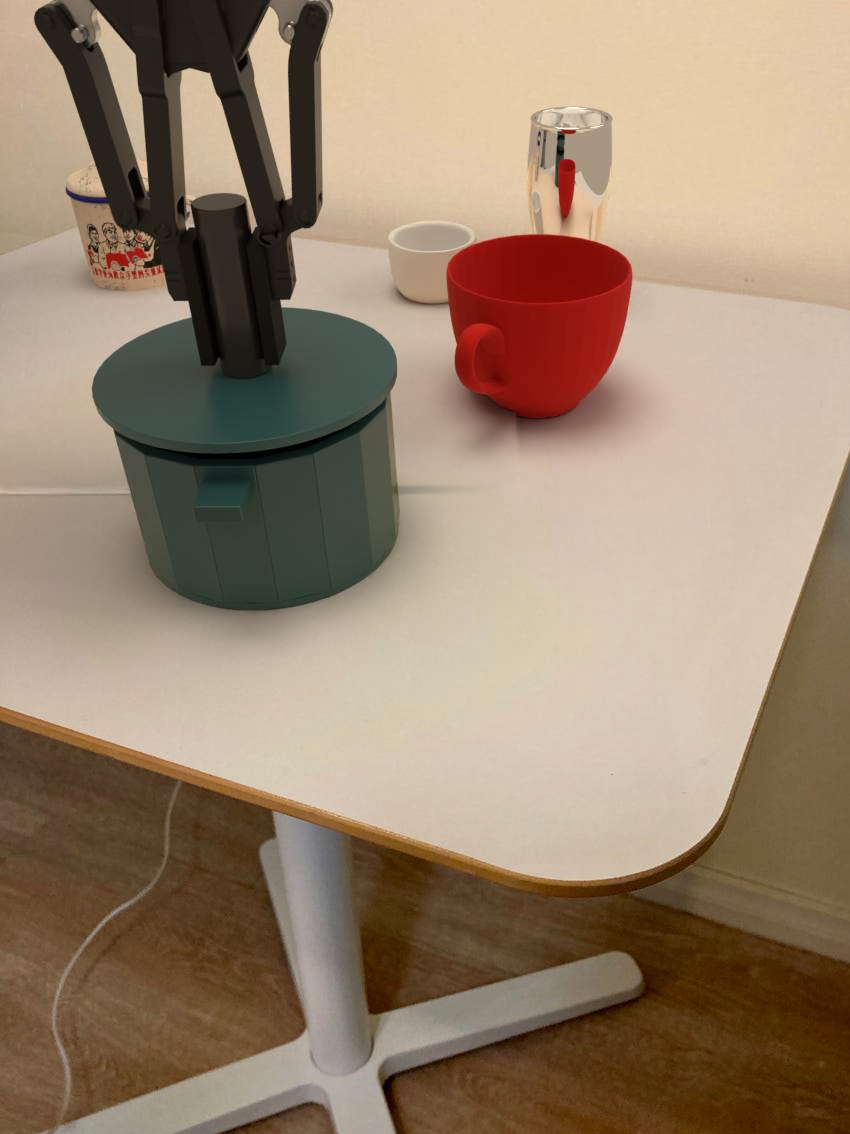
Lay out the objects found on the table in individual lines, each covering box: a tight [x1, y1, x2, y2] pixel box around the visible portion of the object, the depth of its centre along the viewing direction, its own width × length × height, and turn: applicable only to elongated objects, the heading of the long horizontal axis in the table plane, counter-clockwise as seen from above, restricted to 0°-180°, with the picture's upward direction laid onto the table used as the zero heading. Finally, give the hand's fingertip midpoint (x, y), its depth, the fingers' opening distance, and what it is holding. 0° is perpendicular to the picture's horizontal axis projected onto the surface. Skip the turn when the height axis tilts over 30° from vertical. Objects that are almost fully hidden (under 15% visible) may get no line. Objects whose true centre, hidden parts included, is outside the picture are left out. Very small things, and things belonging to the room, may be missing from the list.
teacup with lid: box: [65, 157, 197, 292], centre depth 94 cm, size 12×9×12 cm
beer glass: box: [526, 106, 614, 243], centre depth 87 cm, size 7×7×15 cm
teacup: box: [387, 220, 478, 305], centre depth 92 cm, size 10×8×5 cm
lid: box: [91, 192, 398, 454], centre depth 56 cm, size 17×17×10 cm
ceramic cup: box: [446, 233, 633, 419], centre depth 74 cm, size 13×17×10 cm
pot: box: [112, 392, 400, 611], centre depth 62 cm, size 16×21×10 cm
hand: (244, 353), depth 58 cm, fingers closed on lid, 3 cm apart
